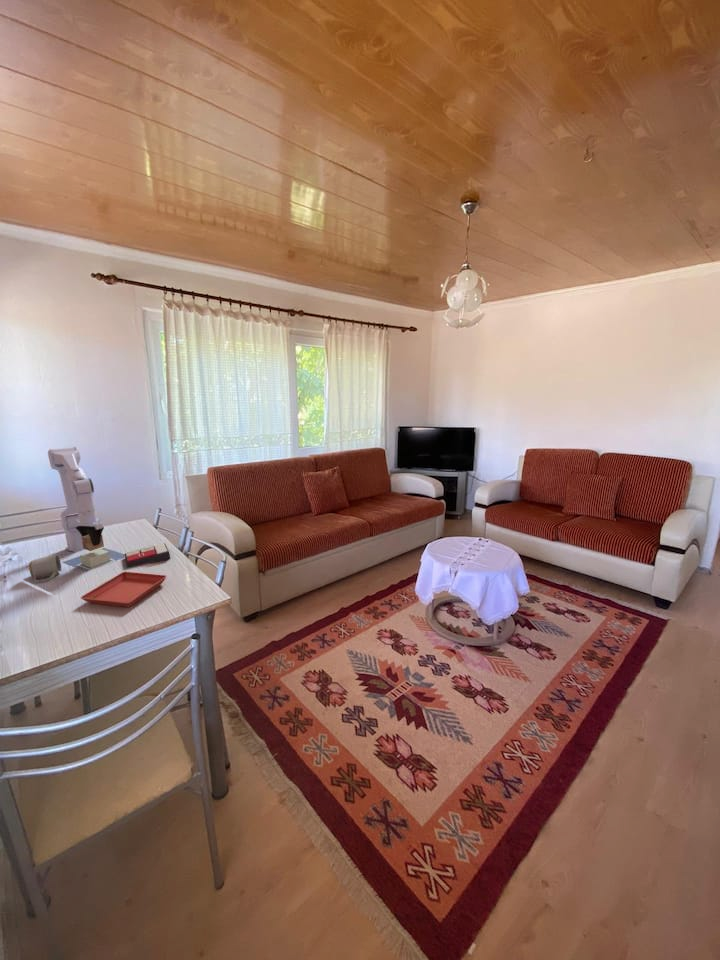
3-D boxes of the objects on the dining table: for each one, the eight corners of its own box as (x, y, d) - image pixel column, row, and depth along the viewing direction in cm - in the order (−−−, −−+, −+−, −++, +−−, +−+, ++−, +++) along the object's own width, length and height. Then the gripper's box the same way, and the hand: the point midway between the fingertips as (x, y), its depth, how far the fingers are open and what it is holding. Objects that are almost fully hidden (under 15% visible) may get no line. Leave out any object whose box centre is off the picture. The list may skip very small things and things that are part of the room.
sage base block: (81, 564, 150) (79, 554, 150) (100, 557, 156) (98, 548, 156) (91, 568, 147) (89, 558, 146) (110, 561, 153) (108, 551, 152)
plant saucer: (129, 612, 119) (128, 602, 118) (80, 606, 122) (78, 597, 122) (169, 583, 136) (167, 575, 135) (125, 579, 140) (123, 571, 139)
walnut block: (83, 548, 149) (81, 536, 148) (97, 544, 154) (94, 532, 153) (90, 551, 147) (88, 538, 146) (104, 546, 151) (101, 534, 150)
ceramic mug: (35, 575, 144) (30, 556, 142) (62, 569, 148) (58, 551, 146) (29, 587, 135) (25, 567, 133) (59, 581, 139) (54, 561, 137)
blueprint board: (62, 563, 153) (62, 562, 153) (104, 549, 167) (104, 547, 166) (86, 573, 144) (86, 571, 144) (129, 556, 158) (128, 555, 158)
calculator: (123, 551, 155) (164, 541, 163) (126, 561, 156) (166, 550, 164) (125, 561, 146) (168, 549, 154) (128, 571, 147) (170, 559, 155)
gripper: (108, 510, 147) (113, 543, 150) (87, 505, 154) (93, 537, 157) (88, 515, 141) (94, 549, 144) (67, 510, 148) (74, 543, 151)
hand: (92, 543), depth 150 cm, fingers closed on walnut block, 5 cm apart
